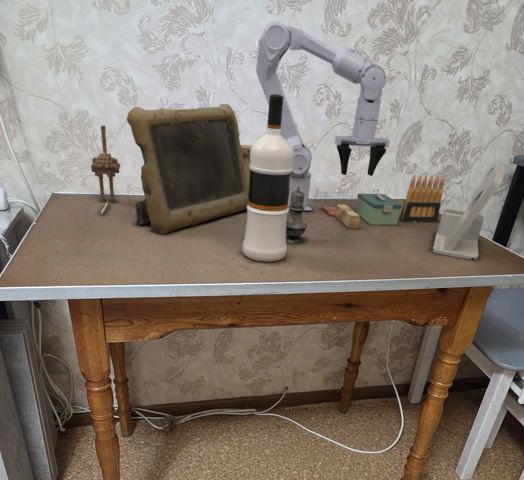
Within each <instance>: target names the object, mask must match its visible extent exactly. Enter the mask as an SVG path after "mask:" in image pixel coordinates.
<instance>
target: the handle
mask: <svg viewBox="0 0 524 480" xmlns="http://www.w3.org/2000/svg"><path fill="white" fill-rule="evenodd" d="M240 145H241V148H242V152H243V160H244V163H245V164H244V169H245V173H246V179H247V185H248V190H249V179H250V167H249V165H250V149H251V147H252V145H250V144H240Z"/></svg>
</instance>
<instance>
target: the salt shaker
mask: <svg viewBox="0 0 524 480" xmlns="http://www.w3.org/2000/svg"><path fill="white" fill-rule="evenodd" d="M299 189H300V187H299V186H298V188H297V190H296V191H294V192H292V194H291V203H290V206H289V207H288V208H289V211H288V216H287V221H286V244H287V243H288V244H297V245H299V244H303V243H304V242H305V239H304V238H303V237H302V235H304V234H305V232H306V230H307V228H308V224H307V223H305V222H304V221H303V213H304V211H303V210H304V207H303V202H304V193H303V192H301V191H300V190H299Z"/></svg>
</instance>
